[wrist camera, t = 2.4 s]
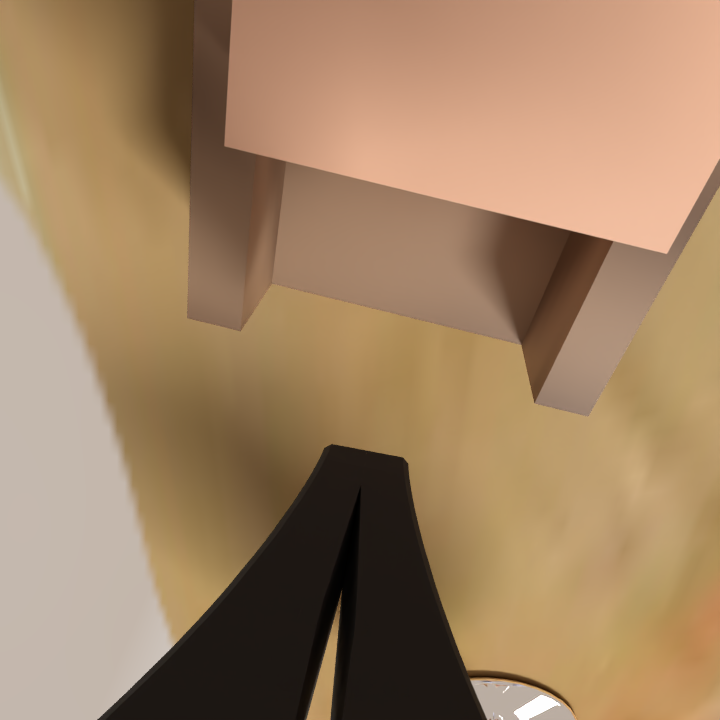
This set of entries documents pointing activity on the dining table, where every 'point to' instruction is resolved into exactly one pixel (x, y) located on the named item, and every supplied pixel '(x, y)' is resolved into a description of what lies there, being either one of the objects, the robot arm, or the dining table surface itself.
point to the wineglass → (518, 701)
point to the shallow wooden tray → (407, 250)
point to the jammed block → (491, 103)
